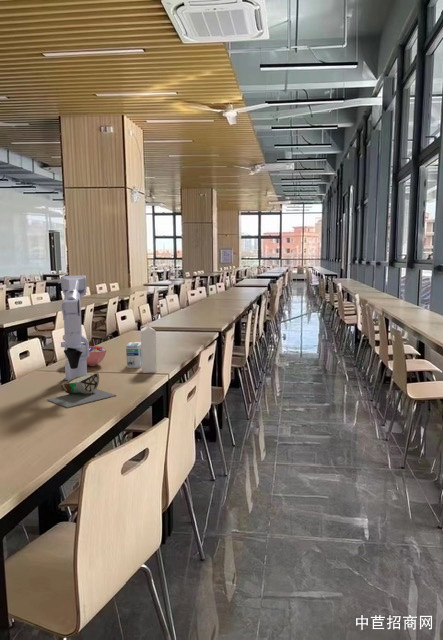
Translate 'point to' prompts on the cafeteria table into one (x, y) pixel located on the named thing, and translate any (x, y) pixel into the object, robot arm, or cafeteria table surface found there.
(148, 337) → the milk
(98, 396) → the mat
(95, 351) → the cell model
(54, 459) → the cafeteria table surface
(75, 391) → the food container
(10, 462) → the cafeteria table surface
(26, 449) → the cafeteria table surface
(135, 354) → the light bulb box
